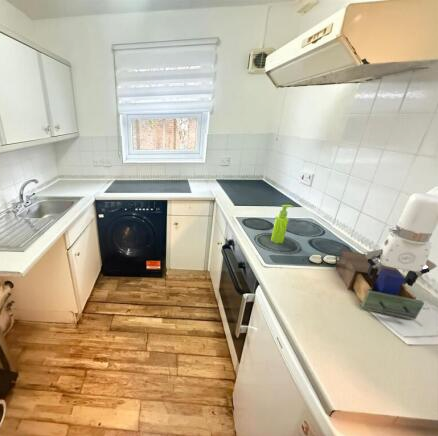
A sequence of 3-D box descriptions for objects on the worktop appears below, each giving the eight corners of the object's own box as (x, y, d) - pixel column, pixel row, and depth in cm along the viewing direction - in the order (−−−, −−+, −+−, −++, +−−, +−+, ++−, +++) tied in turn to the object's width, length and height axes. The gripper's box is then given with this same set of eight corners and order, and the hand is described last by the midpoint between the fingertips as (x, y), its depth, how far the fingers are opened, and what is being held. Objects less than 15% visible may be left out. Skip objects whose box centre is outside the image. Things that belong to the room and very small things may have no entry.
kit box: (384, 296, 83) (397, 270, 79) (391, 305, 79) (405, 278, 75) (370, 293, 85) (381, 267, 80) (376, 302, 80) (389, 275, 76)
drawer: (423, 330, 71) (433, 312, 69) (367, 317, 76) (375, 300, 73) (391, 291, 87) (399, 276, 85) (347, 282, 92) (353, 268, 89)
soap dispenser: (287, 243, 123) (296, 207, 115) (274, 243, 123) (282, 207, 115) (281, 238, 128) (289, 203, 121) (268, 238, 128) (276, 203, 121)
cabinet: (397, 299, 85) (407, 279, 81) (347, 289, 90) (355, 270, 86) (377, 275, 98) (385, 257, 95) (335, 267, 103) (341, 250, 100)
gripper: (381, 234, 72) (361, 280, 78) (459, 244, 66) (430, 293, 73) (370, 224, 78) (352, 268, 85) (441, 233, 72) (416, 279, 79)
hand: (388, 279), depth 79 cm, fingers open, 9 cm apart
